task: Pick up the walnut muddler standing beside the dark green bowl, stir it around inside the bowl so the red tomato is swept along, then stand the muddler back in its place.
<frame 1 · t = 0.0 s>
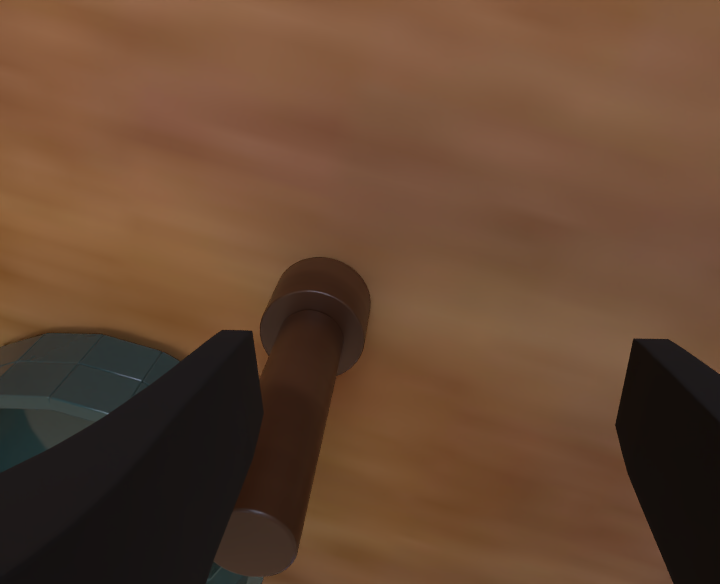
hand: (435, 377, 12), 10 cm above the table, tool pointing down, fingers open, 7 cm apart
muddler: (323, 299, 23), on the table
bowl: (123, 465, 28), on the table
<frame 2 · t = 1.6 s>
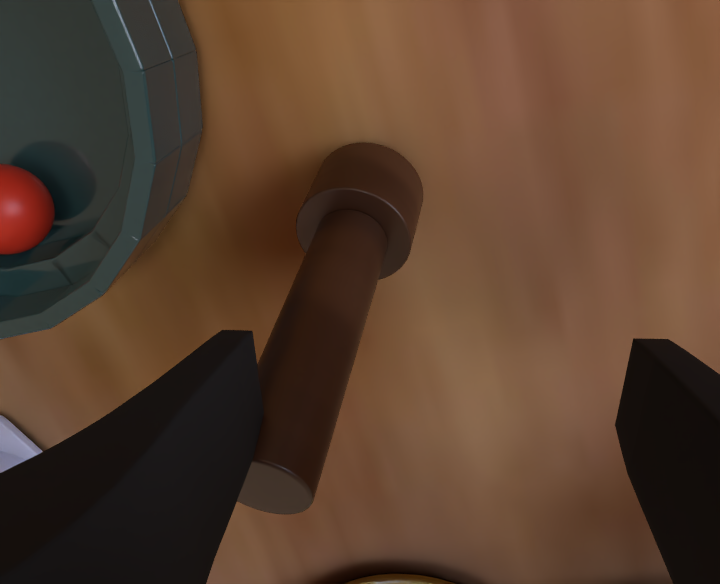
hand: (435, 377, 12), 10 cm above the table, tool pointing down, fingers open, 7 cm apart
tomato: (4, 209, 20), point 2 cm above the table, touching bowl
muddler: (369, 190, 20), point 1 cm above the table, tilted 17°
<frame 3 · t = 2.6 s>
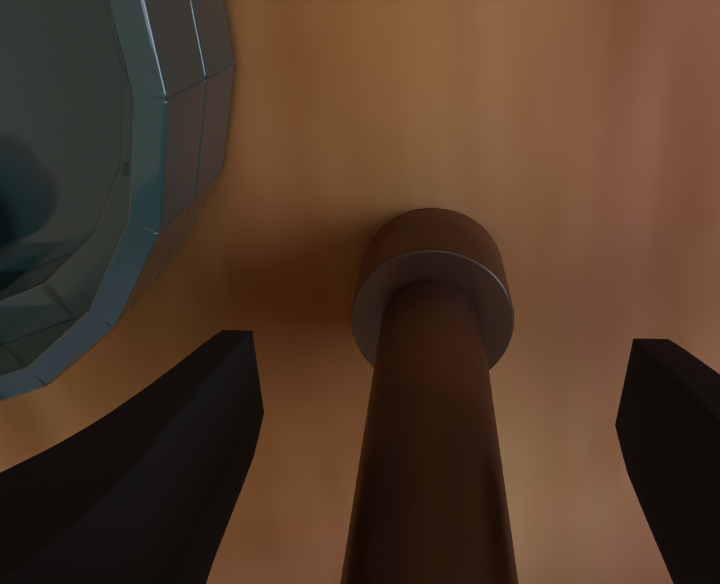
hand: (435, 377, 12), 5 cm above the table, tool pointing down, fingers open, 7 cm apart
muddler: (431, 273, 16), on the table
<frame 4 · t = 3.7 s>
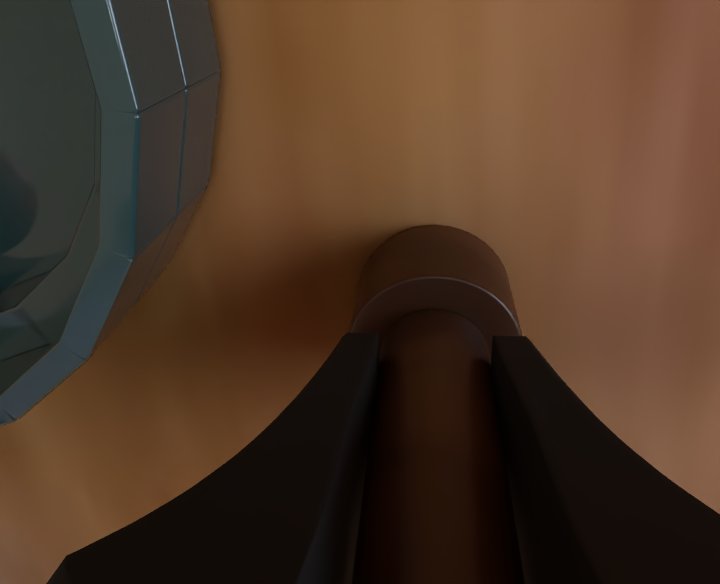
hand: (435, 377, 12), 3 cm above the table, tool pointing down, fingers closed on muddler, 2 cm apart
muddler: (432, 293, 15), on the table, touching gripper
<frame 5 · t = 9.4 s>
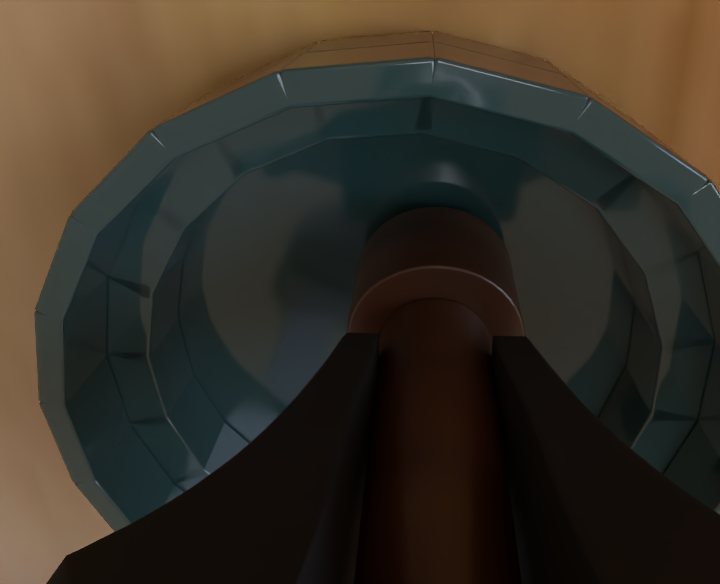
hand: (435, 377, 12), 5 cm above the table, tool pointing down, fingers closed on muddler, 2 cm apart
muddler: (433, 273, 14), point 1 cm above the table, tilted 5°, touching gripper
bowl: (398, 330, 17), on the table
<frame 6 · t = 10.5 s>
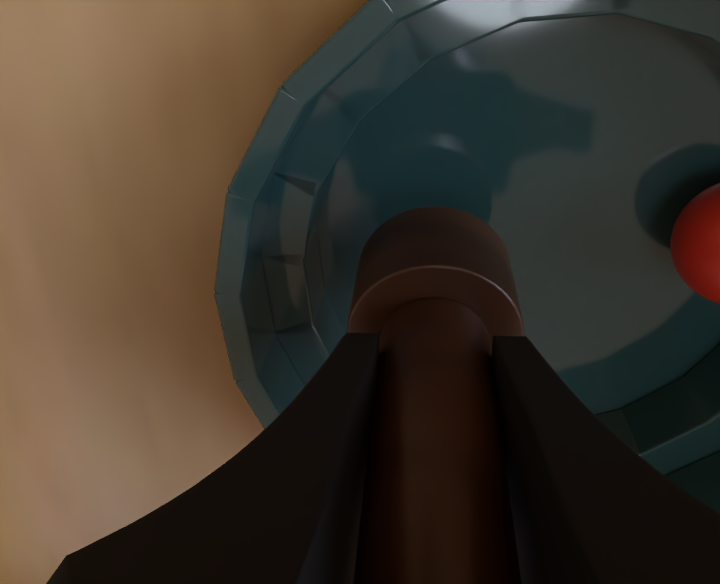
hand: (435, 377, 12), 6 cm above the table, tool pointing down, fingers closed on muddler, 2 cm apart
muddler: (433, 273, 14), point 3 cm above the table, tilted 5°, touching gripper
bowl: (534, 244, 17), on the table
when the fingers open (4 cm above the table, at t = 14.1 s): muddler stays where it is, on the table.
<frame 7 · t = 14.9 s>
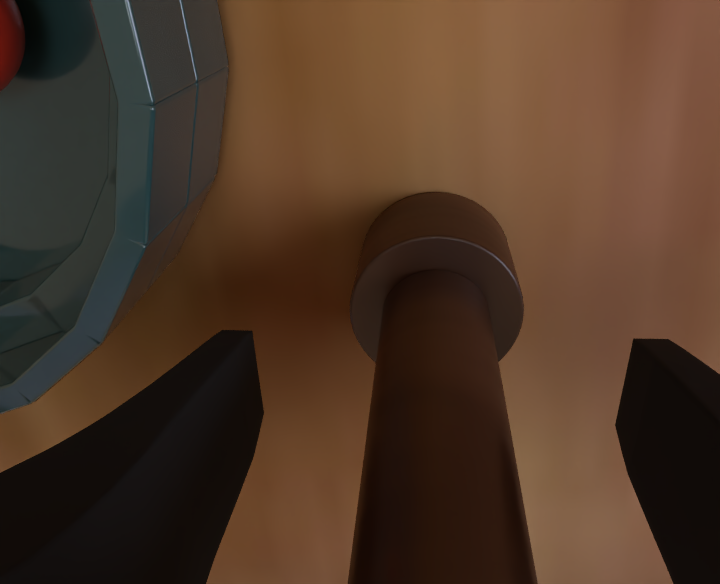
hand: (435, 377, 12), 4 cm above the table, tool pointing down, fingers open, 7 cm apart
muddler: (434, 261, 15), on the table
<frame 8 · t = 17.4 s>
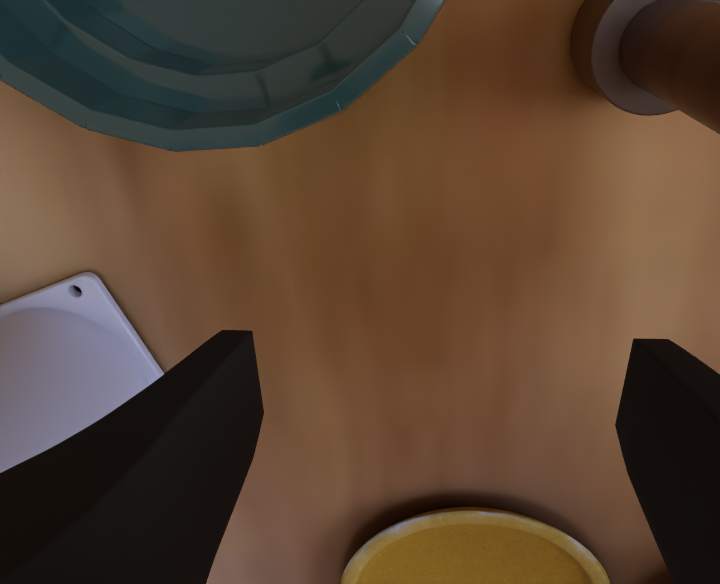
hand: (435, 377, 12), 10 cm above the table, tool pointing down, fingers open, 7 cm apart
muddler: (633, 34, 18), on the table
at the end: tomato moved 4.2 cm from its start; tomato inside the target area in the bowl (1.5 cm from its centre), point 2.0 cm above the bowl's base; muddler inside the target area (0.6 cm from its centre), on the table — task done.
